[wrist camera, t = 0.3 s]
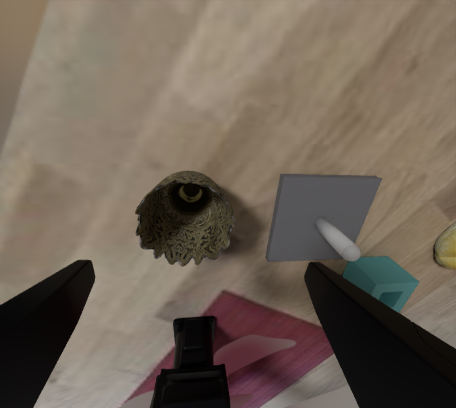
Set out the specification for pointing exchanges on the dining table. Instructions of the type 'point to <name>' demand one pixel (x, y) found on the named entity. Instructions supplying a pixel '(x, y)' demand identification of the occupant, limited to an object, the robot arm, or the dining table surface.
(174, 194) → the cup
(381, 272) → the teal block with hole
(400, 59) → the dining table surface
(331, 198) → the post stand
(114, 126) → the dining table surface
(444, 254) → the bread roll
